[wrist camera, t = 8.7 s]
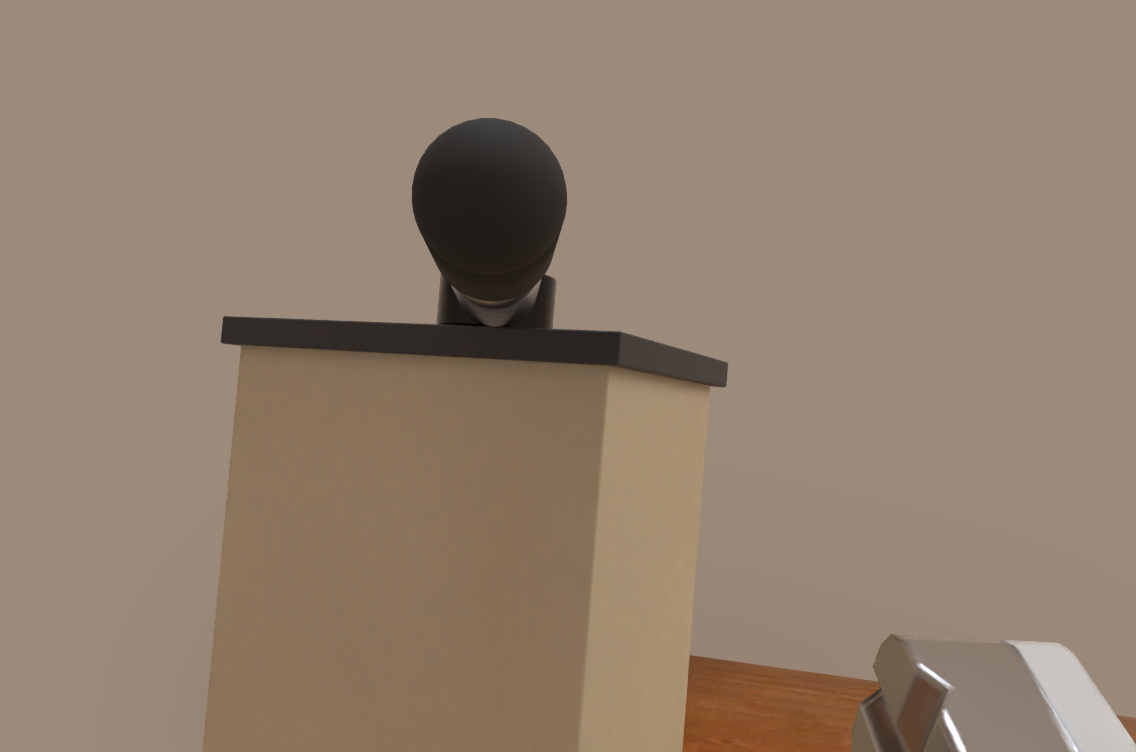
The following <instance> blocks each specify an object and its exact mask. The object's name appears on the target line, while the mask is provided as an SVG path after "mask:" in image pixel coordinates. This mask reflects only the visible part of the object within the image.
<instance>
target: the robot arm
mask: <svg viewBox="0 0 1136 752" xmlns="http://www.w3.org/2000/svg"><path fill="white" fill-rule="evenodd" d="M873 668H874V671H875V673H876V676H877V678H878V681H879V683H880V686H881V688H880V689H878V690H877V691H876V692H874V693H873V694H872V695H870V696H869V697H868V698H866V699H865V700H864V701H862V702H861V703H860V705H859V709H858V712H857V715H856V719H855V722H854V725H853V729H852V745H851V752H1136V744H1135V743H1134V741H1133V740H1132V738H1131V737H1130V735H1129V734H1128V732H1127V731H1126V729H1125V728H1124V726H1123V725H1122V724H1121V722H1120V721H1119V719H1118V718H1117V716H1116V715H1115V713H1114V712H1113V710H1112V709H1111V708H1110V706H1109V705H1108V703H1107V702H1106V700H1105V699H1104V697H1103V696H1102V694H1101V693H1100V691H1099V690H1098V688H1097V687H1096V685H1095V684H1094V683H1093V681H1092V680H1091V678H1090V677H1089V675H1088V674H1087V672H1086V671H1085V669H1084V668H1083V666H1082V665H1081V664H1080V662H1079V661H1078V659H1077V658H1076V656H1075V655H1074V654H1073V653H1072V652H1071V651H1070V650H1068V649H1067V648H1065V647H1064V646H1062V645H1061V644H1060V643H1051V642H1031V641H1011V640H1002V641H1000V642H999V641H994V640H980V639H964V638H948V637H931V636H915V635H898V634H890V636H889V637H888V638H887V639H886V640H885V641H884V642H883V643H882V644H881V646H880V649H879V652H878V654H877V657H876V659H875V662H874V665H873Z"/></svg>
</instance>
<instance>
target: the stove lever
mask: <svg viewBox="0 0 1136 752" xmlns="http://www.w3.org/2000/svg"><path fill="white" fill-rule="evenodd" d="M412 206H413V212H414V216H415V220H416V223H417V225H418V228H419V230H420V232H421V234H422V236H423V238H424V240H425V242H426V244H427V246H428V249H429V251H430V252H431V255H432V257H433V258H434V261H435V263H436V265H437V267H438V268H439V270H440V272H441V279H440V291H439V303H438V314H437V324H438V325H464V326H490V327H516V328H543V329H552V328H553V316H554V304H555V291H556V280H555V279H554V278H552V277H550V276H548V275H545V273H546V271H547V269H548V267H549V265H550V263H551V260H552V257H553V254H554V251H555V247H556V244H557V241H558V238H559V234H560V231H561V228H562V224H563V221H564V218H565V214H566V207H567V192H566V184H565V180H564V175H563V172H562V169H561V167H560V164H559V162H558V160H557V158H556V156H555V155H554V154H553V152H552V151H551V149H550V148H549V146H548V145H547V144H546V143H545V142H544V141H543V140H542V139H541V138H540V137H538V136H537V135H536V134H535V133H533V132H531V131H530V130H528V129H527V128H525V127H523V126H521V125H518V124H516V123H513V122H511V121H506V120H501V119H496V118H480V119H475V120H470V121H466V122H463V123H461V124H458V125H456V126H453V127H451V128H450V129H448V130H447V131H446V132H444V133H442V134H441V135H439V136H438V137H437V138H436V140H434V141H433V142H432V143H431V144H430V145H429V147H428V148H427V150H426V151H425V153H424V154H423V156H422V157H421V159H420V161H419V164H418V166H417V168H416V171H415V175H414V180H413V185H412Z"/></svg>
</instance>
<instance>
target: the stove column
mask: <svg viewBox="0 0 1136 752" xmlns="http://www.w3.org/2000/svg"><path fill="white" fill-rule="evenodd" d="M221 342H222V343H224V344H233V345H240V346H241V355H240V365H239V375H238V387H237V397H236V407H235V417H234V428H233V438H232V449H231V459H230V470H229V481H228V491H227V502H226V512H225V522H224V533H223V543H222V554H221V564H220V575H219V586H218V596H217V607H216V617H215V629H214V638H213V649H212V659H211V670H210V681H209V691H208V701H207V713H206V722H205V733H204V743H203V752H682V747H683V733H684V720H685V707H686V694H687V681H688V668H689V655H690V641H691V628H692V615H693V602H694V601H693V600H694V589H695V576H696V562H697V549H698V536H699V522H700V509H701V496H702V484H703V469H704V456H705V443H706V431H707V430H706V429H707V417H708V405H709V404H708V403H709V391H710V386H715V387H726V381H727V369H728V363H727V362H724V361H721V360H717V359H714V358H710V357H707V356H703V355H700V354H696V353H693V352H689V351H686V350H682V349H679V348H675V347H672V346H668V345H665V344H662V343H658V342H654V341H651V340H647V339H644V338H641V337H637V336H634V335H630V334H627V333H623V332H620V331H595V330H567V329H543V328H516V327H490V326H464V325H438V324H412V323H386V322H385V323H384V322H359V321H333V320H307V319H305V320H304V319H281V318H254V317H229V316H228V317H227V316H225V317H223V325H222V335H221Z"/></svg>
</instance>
